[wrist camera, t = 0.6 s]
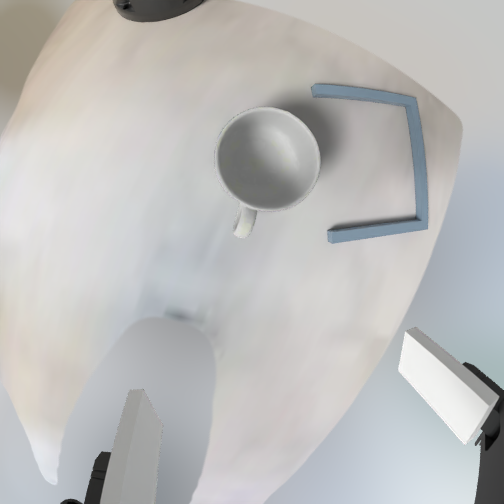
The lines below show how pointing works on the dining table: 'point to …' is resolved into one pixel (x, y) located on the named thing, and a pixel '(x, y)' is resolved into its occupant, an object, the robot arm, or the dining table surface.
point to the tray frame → (418, 162)
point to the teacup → (265, 163)
